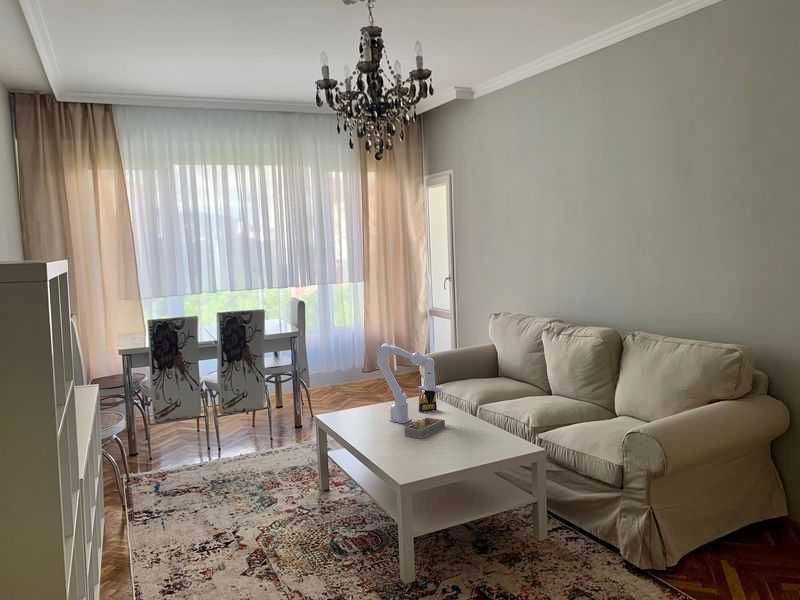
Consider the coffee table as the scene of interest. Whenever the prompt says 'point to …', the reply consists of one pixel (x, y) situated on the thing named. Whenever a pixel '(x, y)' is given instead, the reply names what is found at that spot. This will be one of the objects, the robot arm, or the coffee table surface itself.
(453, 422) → the coffee table surface
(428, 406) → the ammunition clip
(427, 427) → the tray
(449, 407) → the coffee table surface
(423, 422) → the block
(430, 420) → the end cap
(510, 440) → the coffee table surface
